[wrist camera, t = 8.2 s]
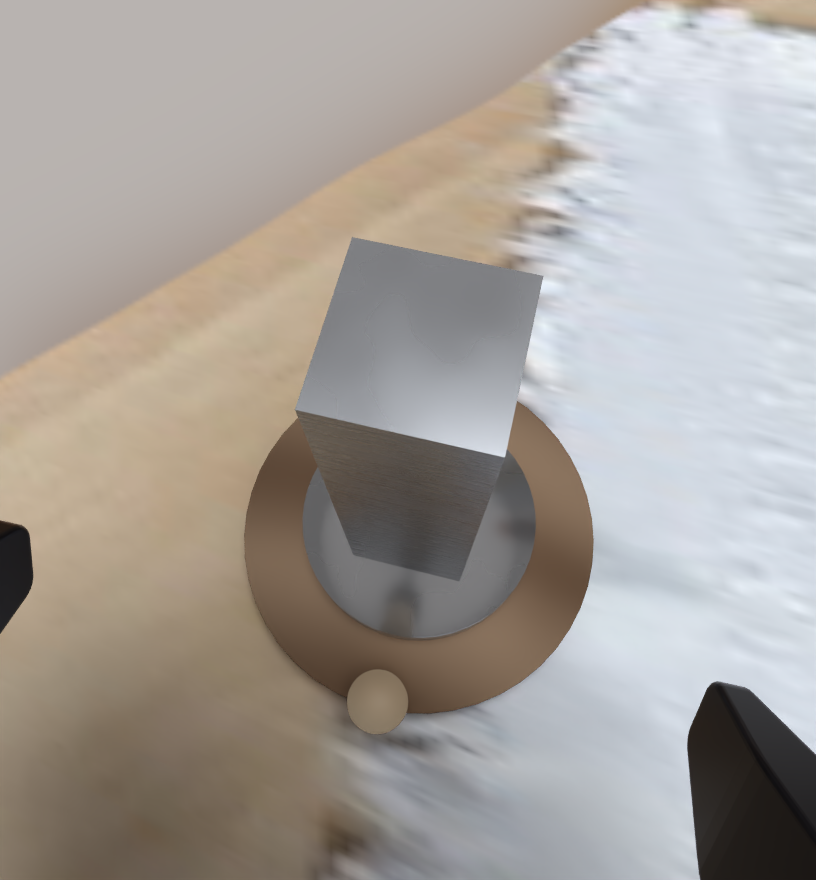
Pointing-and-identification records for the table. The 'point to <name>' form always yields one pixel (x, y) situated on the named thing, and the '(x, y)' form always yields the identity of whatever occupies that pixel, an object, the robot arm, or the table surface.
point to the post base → (432, 661)
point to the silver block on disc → (418, 441)
